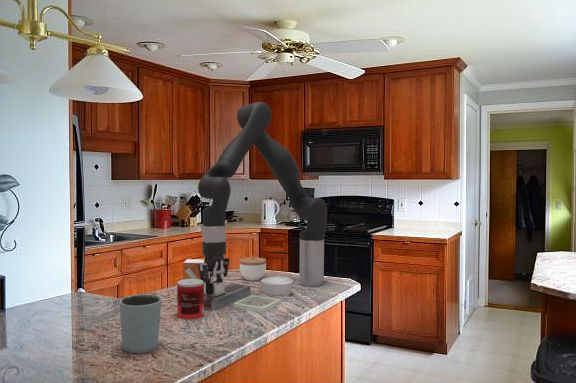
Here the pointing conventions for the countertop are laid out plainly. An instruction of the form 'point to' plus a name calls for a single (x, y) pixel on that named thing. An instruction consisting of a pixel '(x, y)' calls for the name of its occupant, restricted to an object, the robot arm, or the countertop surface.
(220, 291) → the cube with dark knob
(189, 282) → the canned food
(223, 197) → the robot arm
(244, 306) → the parts tray
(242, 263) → the lidded jar
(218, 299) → the grey compartment tray
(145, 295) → the grey-green cup
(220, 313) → the countertop surface
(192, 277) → the small box
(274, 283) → the ramekin
